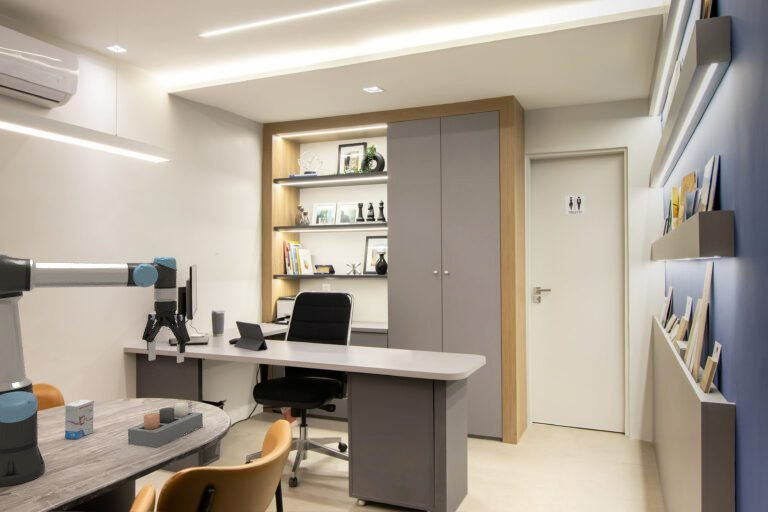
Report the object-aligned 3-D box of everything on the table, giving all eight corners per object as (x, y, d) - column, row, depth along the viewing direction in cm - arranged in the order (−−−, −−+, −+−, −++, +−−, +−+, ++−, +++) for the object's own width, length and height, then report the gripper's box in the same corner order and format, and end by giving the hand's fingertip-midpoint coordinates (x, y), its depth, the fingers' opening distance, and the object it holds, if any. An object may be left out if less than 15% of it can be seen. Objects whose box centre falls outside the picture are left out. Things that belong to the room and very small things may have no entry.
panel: (156, 447, 189) (156, 432, 189) (128, 443, 193) (128, 429, 193) (202, 426, 211) (202, 413, 211) (176, 423, 215) (176, 410, 215)
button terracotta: (152, 435, 192) (152, 418, 192) (140, 434, 193) (140, 416, 193) (162, 431, 196) (162, 414, 196) (151, 429, 198) (151, 412, 198)
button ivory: (182, 422, 206) (182, 406, 206) (171, 421, 208) (170, 405, 207) (191, 419, 211) (191, 403, 210) (180, 417, 212) (180, 401, 212)
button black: (167, 429, 199) (167, 412, 199) (156, 427, 200) (156, 410, 200) (177, 424, 203) (177, 408, 203) (166, 423, 205) (166, 407, 205)
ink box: (77, 439, 197) (76, 405, 197) (64, 438, 198) (64, 405, 198) (94, 431, 206) (94, 399, 206) (82, 431, 207) (81, 398, 206)
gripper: (200, 300, 201) (200, 361, 201) (146, 298, 209) (146, 357, 209) (186, 302, 194) (186, 365, 194) (130, 300, 202) (131, 360, 202)
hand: (166, 361), depth 202 cm, fingers open, 12 cm apart
